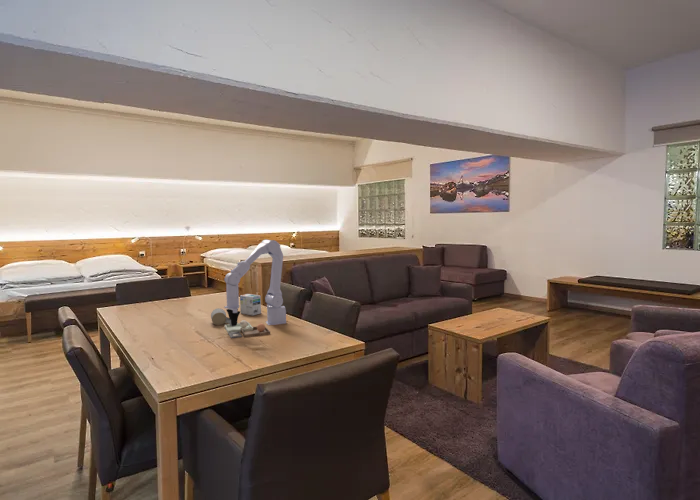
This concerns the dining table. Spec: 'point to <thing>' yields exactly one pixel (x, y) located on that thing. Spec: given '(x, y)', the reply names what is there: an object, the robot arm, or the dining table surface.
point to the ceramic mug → (219, 317)
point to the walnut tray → (254, 332)
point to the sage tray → (237, 328)
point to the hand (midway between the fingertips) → (233, 324)
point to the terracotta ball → (261, 327)
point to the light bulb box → (250, 304)
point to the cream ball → (243, 324)
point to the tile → (235, 335)
